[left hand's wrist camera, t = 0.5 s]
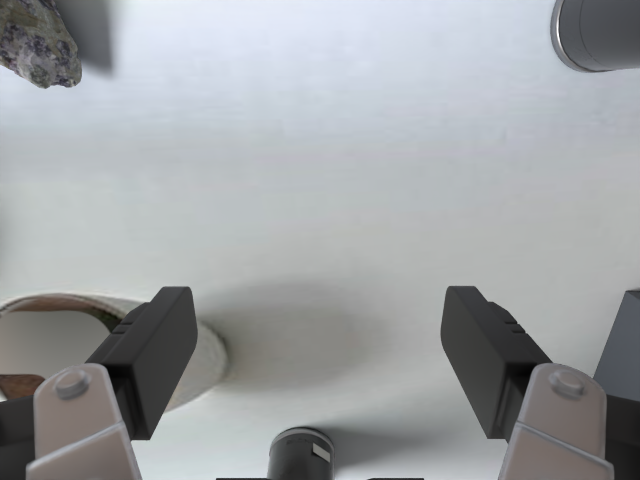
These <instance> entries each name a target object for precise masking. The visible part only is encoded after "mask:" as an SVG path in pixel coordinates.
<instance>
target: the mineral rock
mask: <svg viewBox="0 0 640 480" xmlns="http://www.w3.org/2000/svg"><path fill="white" fill-rule="evenodd" d="M77 51H78V47H77V45H76V43H75V41H74V40H73V38H72V37H71V35H70V34H69V33H68V31H67V29H66V28H65V25H64V23H63V20H62V19H61V16H60V14H59V13H58V9H57V7H56V4H55V2H54V1H53V0H0V65H2V66H5V67H6V68H8V69H10V70H13V71H14V72H15V74H17V75H19V76H20V77H23V78H25V79H26V80H28V81H29V82H31V83H33V84H34V85H36V86H37V87H39V88H44V89H46V88H48V87H50V85H61V86H65V87H72V86H76V85H77V84H78V83H79V82H80V81H81V77H82V67H81V61H80V60H79V59H78V58H77Z"/></svg>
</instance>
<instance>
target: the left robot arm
mask: <svg viewBox="0 0 640 480" xmlns="http://www.w3.org/2000/svg"><path fill="white" fill-rule="evenodd" d="M197 334H198V332H197V323H196V316H195V310H194V303H193V296H192V291H191V289H190V288H189V287H162V288H161V290H160V291H159V292H158V293H157V294H156V296H155V297H154V298H153V299H152V301H151V302H145V303H143V304H142V305H140V306H138V307H137V308H135V309H134V310H132V311H130V312H129V313H128V314H127V316H126V317H125V318H124V319H123V320H122V321H121V322H120V325H118V326H117V327H116V328H115V329H114V330H113V331H112V334H110V335H109V336H108V337H107V338H106V339H105V341H104V342H103V343H102V344H101V345H100V346H99V347H98V348H97V350H96V351H95V352H94V353H93V354H92V355H91V356H90V358H89V359H88V360H87V361H86V362H85V363H84V364H79V365H75V366H72V367H68V368H66V369H63V370H61V371H59V372H57V373H55V374H54V375H52V376H51V377H49V378H48V379H46V380H45V381H44V382H43V383H42V384H41V385H40V386H39V387H38V388H37V390H36V391H35V394H34V395H30V396H26V397H21V398H17V399H12V400H7V401H3V402H0V480H142V477H141V474H140V470H139V467H138V464H137V461H136V458H135V454H134V451H133V448H132V445H131V441H132V440H150V439H151V437H152V435H153V432H154V430H155V428H156V426H157V424H158V422H159V420H160V418H161V416H162V414H163V412H164V410H165V408H166V406H167V404H168V402H169V400H170V398H171V396H172V394H173V392H174V390H175V388H176V386H177V384H178V382H179V380H180V378H181V376H182V374H183V372H184V370H185V368H186V366H187V364H188V362H189V360H190V358H191V356H192V354H193V352H194V350H195V347H196V343H197ZM441 342H442V346H443V349H444V351H445V353H446V355H447V357H448V359H449V361H450V363H451V365H452V367H453V369H454V371H455V373H456V375H457V377H458V379H459V381H460V384H461V386H462V388H463V390H464V392H465V394H466V396H467V398H468V400H469V402H470V404H471V406H472V408H473V410H474V412H475V414H476V416H477V418H478V420H479V422H480V424H481V426H482V428H483V430H484V433H485V435H486V437H487V439H506V441H507V443H508V448H507V451H506V454H505V458H504V461H503V464H502V467H501V470H500V474H499V477H498V480H640V401H635V400H631V399H626V398H621V397H617V396H612V395H608V394H605V391H604V390H603V388H602V387H601V386H600V385H599V384H598V383H597V382H596V381H595V380H594V379H592V378H591V377H589V376H588V375H586V374H585V373H583V372H581V371H579V370H577V369H574V368H572V367H569V366H565V365H561V364H555V363H553V362H552V361H551V360H550V359H549V358H548V356H547V355H546V354H545V353H544V352H543V351H542V350H541V348H540V347H539V346H538V345H537V344H536V343H535V342H534V340H533V339H532V338H531V337H530V336H529V335H528V334H527V333H525V330H524V329H523V328H522V327H521V326H520V324H517V321H516V320H515V319H514V318H513V316H512V315H511V314H510V313H509V312H508V311H507V310H505V309H504V308H502V307H500V306H499V305H497V304H496V303H494V302H488V301H487V300H486V299H485V298H484V297H483V295H482V294H481V293H480V292H479V290H478V289H477V288H476V287H475V286H449V287H448V288H447V291H446V296H445V303H444V310H443V317H442V324H441ZM269 456H270V459H269V466H268V472H267V478H216V480H334V447H333V444H332V442H331V441H330V439H329V438H328V437H326V436H325V435H324V434H322V433H320V432H318V431H315V430H312V429H306V428H297V429H291V430H288V431H285V432H283V433H281V434H280V435H278V436H277V437H276V438H275V439H274V440H273V442H272V444H271V447H270V453H269ZM368 480H424V478H372V479H368Z"/></svg>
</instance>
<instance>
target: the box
mask: <svg viewBox="0 0 640 480" xmlns="http://www.w3.org/2000/svg"><path fill="white" fill-rule="evenodd" d="M593 379H594V380H595V381H596V382H597V383H598V384H599V385H600V386H601V387H602V388H603V390H604V391H605V394H608V395H612V396H617V397H621V398H626V399H631V400H635V401H640V291H626V292H625V295H624V298H623V300H622V303H621V306H620V308H619V311H618V314H617V316H616V319H615V322H614V324H613V327H612V330H611V332H610V335H609V338H608V340H607V343H606V346H605V348H604V351H603V354H602V356H601V359H600V362H599V364H598V367H597V370H596V372H595V375H594V378H593Z"/></svg>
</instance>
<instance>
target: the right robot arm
mask: <svg viewBox="0 0 640 480" xmlns="http://www.w3.org/2000/svg"><path fill="white" fill-rule="evenodd" d="M550 28H551V40H552V44H553V47H554V50H555V52H556V54H557V55H558V57H559V58H560V59H561V61H562V62H563V63H564V64H566V65H567V66H568V67H570V68H572V69H574V70H576V71H580V72H585V73H595V72H605V71H613V70H620V69H634V68H640V0H556V3H555V6H554V9H553V13H552V18H551V27H550Z"/></svg>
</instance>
